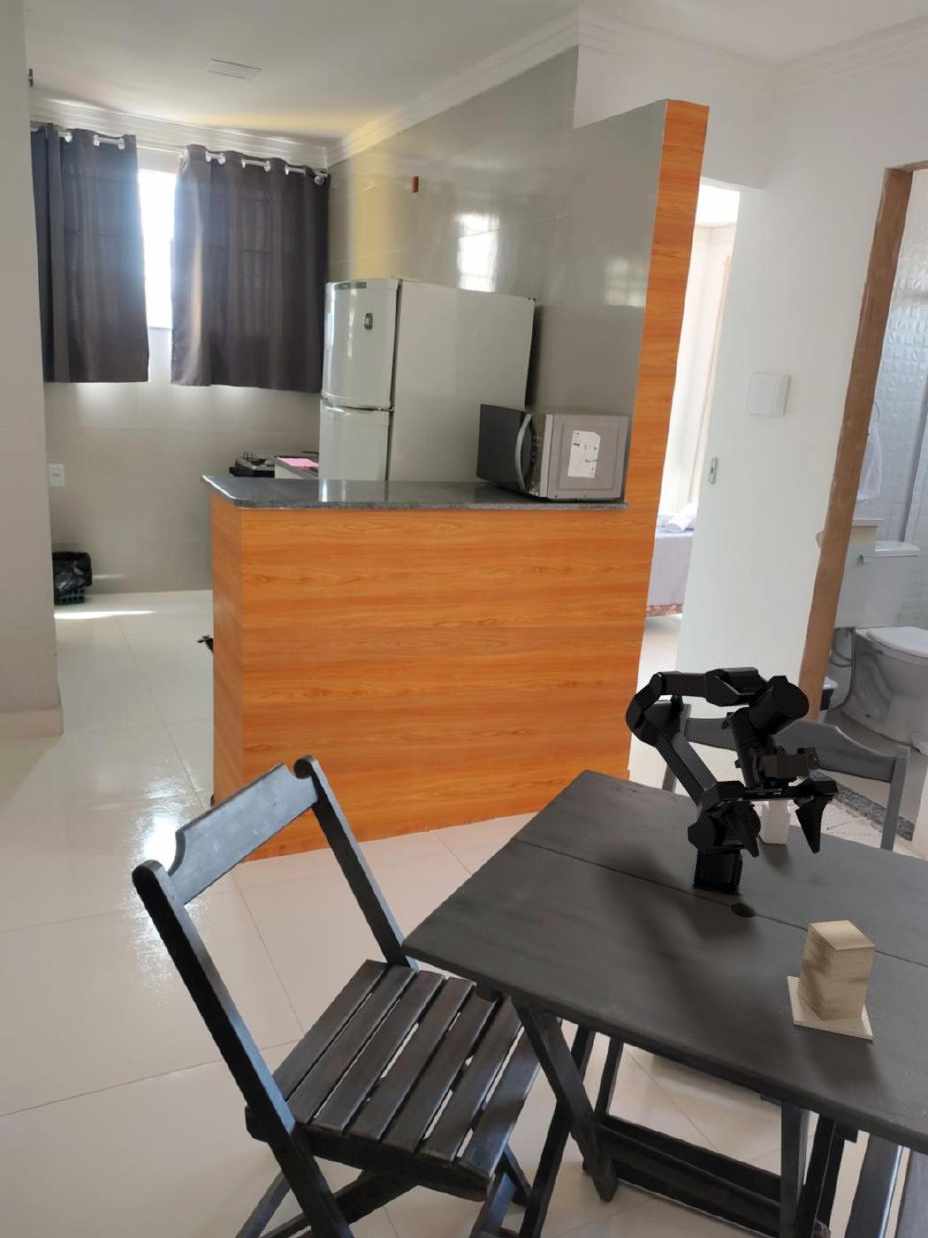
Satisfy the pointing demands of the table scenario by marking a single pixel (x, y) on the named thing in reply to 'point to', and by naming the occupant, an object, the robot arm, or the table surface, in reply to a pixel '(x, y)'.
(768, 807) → the pepper shaker
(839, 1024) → the cream tile
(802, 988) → the brass block
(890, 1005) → the table surface
